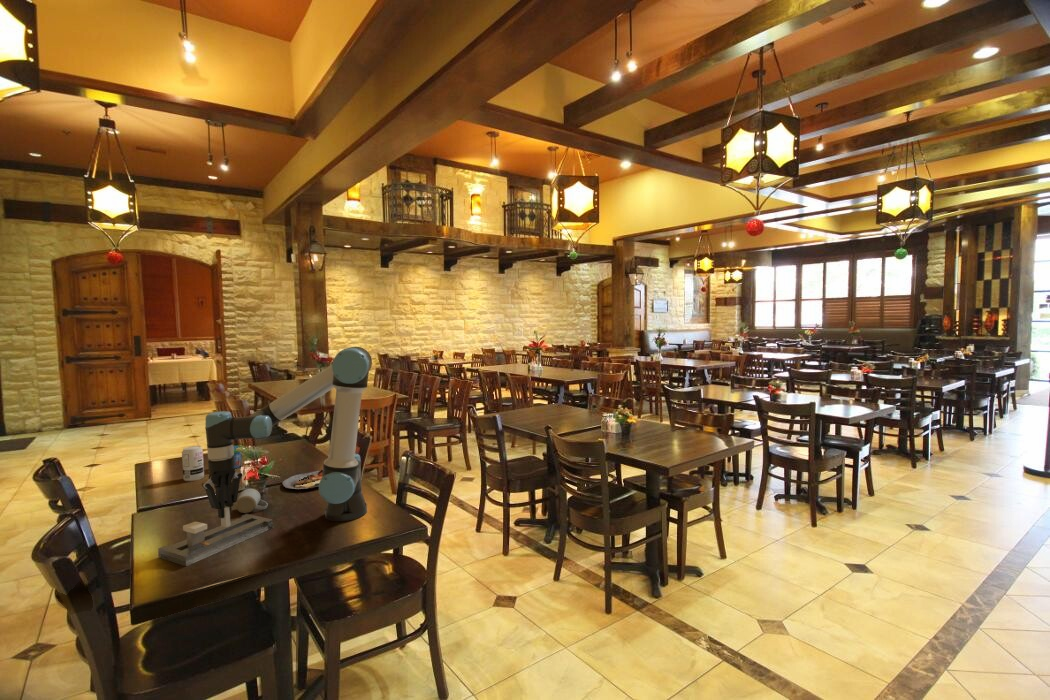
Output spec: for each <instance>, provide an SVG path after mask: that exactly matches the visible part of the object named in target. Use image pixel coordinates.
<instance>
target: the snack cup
mask: <svg viewBox="0 0 1050 700" xmlns="http://www.w3.org/2000/svg"><path fill="white" fill-rule="evenodd" d="M238 447H244V446H243V445H233V448H234V455H233V457H234V463H235V466H234V469H235V470H236V469H238V468H240V467H241V466H242V459H243V457H242V456H243V453H242V454H241V453H240V452H238V451H237V450H235V449H236V448H238Z"/></svg>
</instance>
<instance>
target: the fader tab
mask: <svg viewBox="0 0 1050 700" xmlns="http://www.w3.org/2000/svg"><path fill="white" fill-rule="evenodd" d="M207 530H208V524H207V523H204V522H199V521H193V522H190V523H187V524H184V525H182V531H183V532H186V539H187V547H188V548H189V547H192V546H194V545H196V544H199V543H200V542H204V541H205V538H204V532H205V531H207Z"/></svg>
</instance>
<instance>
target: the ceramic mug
mask: <svg viewBox="0 0 1050 700" xmlns="http://www.w3.org/2000/svg"><path fill="white" fill-rule="evenodd" d="M261 498H262V497H261V493H260V492H259V491H258V490H257V489H255V488H245V489H243V490H242V491H241V492H240V493H239V495H238V497H237V502H235V508H236V510H237V511H238V512H239V513H241V514H249V513H252V511H254V510H255V509H256V510H260V511H263V510H266V509H267V508H268V505H269V503H268V502H267V501H265V500H263V499H261ZM258 504H260V505H258Z"/></svg>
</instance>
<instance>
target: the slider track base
mask: <svg viewBox="0 0 1050 700" xmlns="http://www.w3.org/2000/svg"><path fill="white" fill-rule="evenodd" d="M230 524H231V526H229V527H223V526H221V525H219V526H217V527H214V528H212V529H209V530H205V531H204V538H205V541H204V542H200V543H199V544H196V545H194V546H192V547H189V548H188V547H187V538H186V539H184V540H181V541H179V542H176V543H174V544H171V545H169V546H167V545H163V546H161V547H158V548H157V550H158V558H159V559H161V558H162V560H165V561H168V562H172V563H175V564H177V565H181V566H184V567H188V566H190V565H193V564H195V563H197V562H199V561H201V560H204V559H206V558H208V557H210V556H212V555H216V554H217V553H220V552H222V551H224V550H226V549H229V548H232V547H233V546H236V545H237V544H240V543H242V542H244V541H246V540H249V539H251V538H254V537H256V536H258V535H260V534H262V533H265V532H267V531H270V530H271V529H274V519H270V518H267V517H262V516H259V515H254V514H249V513H244V514H242V515H241V517H240V518H237V519H234V520H232V521H230Z"/></svg>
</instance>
